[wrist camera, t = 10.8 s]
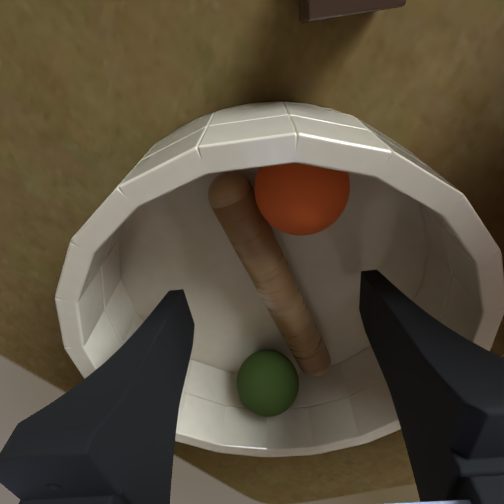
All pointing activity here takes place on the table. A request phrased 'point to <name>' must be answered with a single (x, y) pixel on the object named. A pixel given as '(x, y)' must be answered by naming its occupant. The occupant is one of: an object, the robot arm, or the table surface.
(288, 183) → the orange ball
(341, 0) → the stick rest
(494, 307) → the cream shallow round container
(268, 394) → the green ball
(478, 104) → the table surface
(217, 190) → the stick
